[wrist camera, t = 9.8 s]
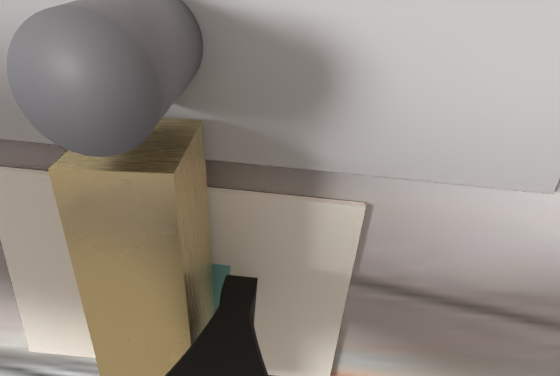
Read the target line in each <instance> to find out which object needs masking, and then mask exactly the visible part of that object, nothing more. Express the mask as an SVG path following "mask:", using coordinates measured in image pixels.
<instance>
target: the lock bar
mask: <svg viewBox="0 0 560 376" xmlns="http://www.w3.org/2000/svg"><path fill="white" fill-rule="evenodd" d="M48 172H49V176H50V180H51V184H52V187H53V191H54V195H55V199H56V203H57V207H58V211H59V215H60V219H61V223H62V227H63V231H64V235H65V239H66V243H67V247H68V251H69V254H70V258H71V262H72V266H73V270H74V274H75V278H76V282H77V286H78V290H79V294H80V298H81V302H82V306H83V310H84V314H85V318H86V321H87V325H88V329H89V333H90V337H91V341H92V345H93V349H94V353H95V357H96V361H97V365H98V369H99V373H100V376H165V375H166V374H167V373H168V372H169V371H170V370H171V368H172V367H173V366H174V365H175V364H176V363H177V362H178V361H179V360H180V358H181V357H182V356H183V355H184V354H185V353H186V351H187V350H188V349H189V348H190V346H191V345H192V344H193V342H194V341H195V340H196V339H197V337H198V336H199V335H200V333H201V332H202V331H203V329H204V328H205V327H206V325H207V324H208V322H209V321H210V319H211V318H212V316H213V315H214V313H215V303H214V288H213V272H212V256H211V241H210V225H209V209H208V194H207V178H206V162H205V146H204V131H203V120H193V119H166V118H162V119H161V120H160V121H159V123H158V124H157V125H156V126H155V128H154V129H153V130H152V132H151V133H150V134H149V135H148V137H147V138H146V139H145V140H144V141H143V142H142V143H140V144H139V145H138V146H136V147H135V148H133V149H131V150H130V151H128V152H125V153H122V154H119V155H114V156H108V157H93V156H86V155H82V154H78V153H74V152H72V151H69V150H68V151H67V152H66V153H65V154H63V155H62V156H61V157H60V158H59V159H58V160H57V161H56V162H55V163H54V164H52V165H51V166H50V167H49V168H48Z"/></svg>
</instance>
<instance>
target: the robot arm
mask: <svg viewBox="0 0 560 376" xmlns="http://www.w3.org/2000/svg"><path fill="white" fill-rule="evenodd" d="M257 281H258V278H254V277H245V276H235V275H226V277H225V280H224V283H223V286H222V289H221V294H220V302H219V307H218V309H217V310H216V312H215V313H214V315H213V316H212V318H211V319H210V321H209V322H208V324H207V325H206V327H205V328H204V329H203V331H202V332H201V333H200V335H199V336H198V337H197V339H196V340H195V341H194V342H193V344H192V345H191V346H190V348H189V349H188V350H187V351H186V353H185V354H184V355H183V356H182V357H181V358H180V360H179V361H178V362H177V363H176V364H175V365H174V366H173V367H172V368H171V370H170V371H169V372H168V373H167V374H166V375H165V376H269V375H268V373H267V370H266V367H265V364H264V361H263V358H262V355H261V351H260V348H259V344H258V341H257V337H256V332H255V328H254V317H255V305H256V293H257Z"/></svg>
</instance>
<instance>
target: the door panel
mask: <svg viewBox="0 0 560 376" xmlns="http://www.w3.org/2000/svg"><path fill="white" fill-rule="evenodd" d="M162 118H166V119H193V120H203V131H204V146H205V160H215V161H225V162H235V163H245V164H255V165H265V166H275V167H285V168H295V169H305V170H315V171H325V172H335V173H345V174H355V175H365V176H375V177H386V178H396V179H406V180H416V181H426V182H436V183H446V184H456V185H466V186H476V187H486V188H496V189H506V190H516V191H526V192H536V193H546V194H553V193H554V190H555V188H556V186H557V184H558V181H559V179H560V0H0V139H4V140H14V141H24V142H34V143H44V144H54V145H59V146H61V147H63V148H65V149H67V150H69V151H72V152H74V153H78V154H82V155H86V156H93V157H108V156H114V155H119V154H122V153H125V152H128V151H130V150H131V149H133V148H135V147H136V146H138V145H139V144H140V143H142V142H143V141H144V140H145V139H146V138H147V137H148V135H149V134H150V133H151V132H152V130H153V129H154V128H155V126H156V125H157V124H158V123H159V121H160V120H161V119H162ZM207 194H208V209H209V225H210V241H211V256H212V272H213V288H214V303H215V312H216V310H217V309H218V307H219V302H220V294H221V289H222V286H223V283H224V280H225V277H226V275H235V276H245V277H254V278H258V281H257V293H256V305H255V317H254V328H255V332H256V337H257V341H258V344H259V348H260V351H261V355H262V358H263V361H264V364H265V367H266V370H267V373H268V375H276V376H330V373H331V369H332V364H333V359H334V355H335V350H336V345H337V341H338V336H339V331H340V326H341V322H342V317H343V312H344V308H345V303H346V298H347V294H348V289H349V284H350V280H351V275H352V270H353V266H354V261H355V256H356V252H357V247H358V242H359V238H360V233H361V228H362V224H363V219H364V214H365V210H366V205H365V203H364V202H354V201H344V200H334V199H324V198H314V197H304V196H294V195H284V194H274V193H264V192H253V191H243V190H233V189H223V188H213V187H207ZM0 240H1V244H2V248H3V252H4V256H5V259H6V263H7V267H8V271H9V275H10V279H11V283H12V286H13V290H14V294H15V298H16V302H17V306H18V309H19V313H20V317H21V321H22V325H23V329H24V332H25V336H26V340H27V344H28V348H29V352H39V353H49V354H60V355H70V356H80V357H91V358H96V357H95V353H94V349H93V345H92V341H91V337H90V333H89V329H88V325H87V321H86V318H85V314H84V310H83V306H82V302H81V298H80V294H79V290H78V286H77V282H76V278H75V274H74V270H73V266H72V262H71V258H70V254H69V251H68V247H67V243H66V239H65V235H64V231H63V227H62V223H61V219H60V215H59V211H58V207H57V203H56V199H55V195H54V191H53V187H52V184H51V180H50V176H49V172H48V171H42V170H32V169H22V168H12V167H2V166H0Z"/></svg>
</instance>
